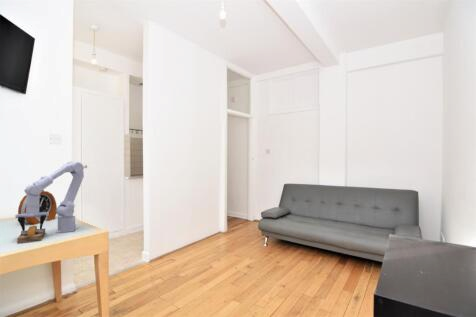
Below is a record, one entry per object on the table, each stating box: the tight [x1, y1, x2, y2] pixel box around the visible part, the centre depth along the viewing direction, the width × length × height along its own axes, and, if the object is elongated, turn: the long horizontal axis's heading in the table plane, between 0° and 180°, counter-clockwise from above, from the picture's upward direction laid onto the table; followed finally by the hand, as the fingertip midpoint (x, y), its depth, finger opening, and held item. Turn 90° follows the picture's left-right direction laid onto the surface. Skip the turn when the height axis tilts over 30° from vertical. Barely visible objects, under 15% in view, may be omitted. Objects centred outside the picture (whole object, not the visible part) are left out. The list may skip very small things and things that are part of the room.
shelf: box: [16, 228, 46, 245], centre depth 139 cm, size 10×15×5 cm, turn 32°
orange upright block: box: [27, 225, 38, 235], centre depth 139 cm, size 3×7×6 cm, turn 32°
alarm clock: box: [17, 189, 58, 226], centre depth 173 cm, size 22×10×23 cm, turn 171°
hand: (32, 229), depth 139 cm, fingers open, 7 cm apart
